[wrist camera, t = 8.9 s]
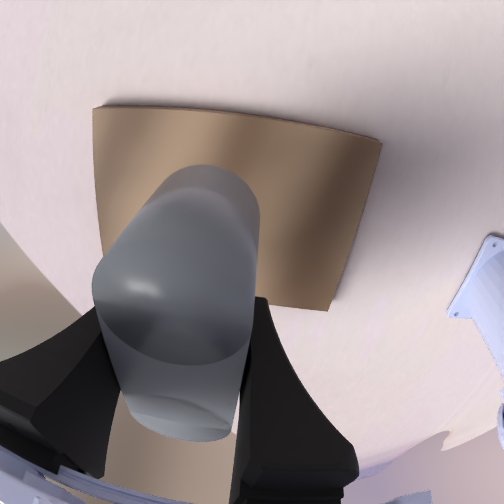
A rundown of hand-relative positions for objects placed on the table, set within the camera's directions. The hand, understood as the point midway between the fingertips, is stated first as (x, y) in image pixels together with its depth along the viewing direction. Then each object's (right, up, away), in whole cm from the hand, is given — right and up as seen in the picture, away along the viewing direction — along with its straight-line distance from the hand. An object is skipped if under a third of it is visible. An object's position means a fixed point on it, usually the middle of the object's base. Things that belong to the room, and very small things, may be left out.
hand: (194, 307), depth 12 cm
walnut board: (0, +5, +7) cm, 8 cm away
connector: (0, 0, +2) cm, 2 cm away
